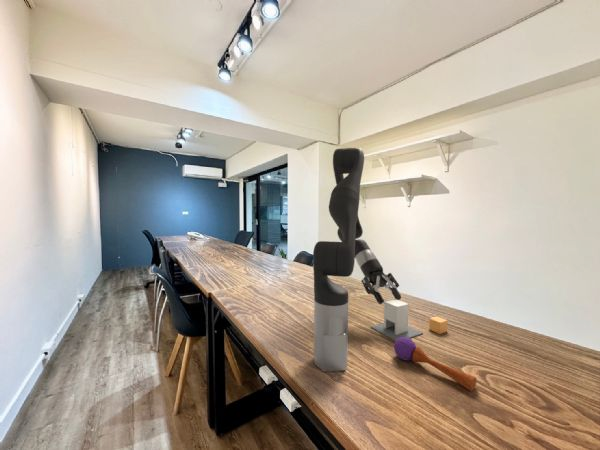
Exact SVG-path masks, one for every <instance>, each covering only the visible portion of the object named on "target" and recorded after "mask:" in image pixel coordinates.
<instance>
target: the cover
mask: <svg viewBox="0 0 600 450" xmlns="http://www.w3.org/2000/svg"><path fill="white" fill-rule="evenodd" d="M383 303H384V304H383V305H384V306H383V307H384V308H383V310H384V311H383V312H384V313H383V323H384V328H385V329H386V328H388V327H391V326H394V325H395V334H396V335H397V334H400V333H404V332H407V331H408V326H409V306H410V305H409V303H407V302H405V301H402V300H397V299H395V298H394V299H389V300H386V301H385V300H384V302H383Z"/></svg>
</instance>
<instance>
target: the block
mask: <svg viewBox="0 0 600 450" xmlns="http://www.w3.org/2000/svg"><path fill="white" fill-rule="evenodd" d="M428 323H429V326H428V327H429V330H430V331H433V332H434V333H437V334H439V335H440V334H441V335H442V334H443V333H446V332H448V320H447V319H445V318H443V317H439V316H433V317H430V318H429V322H428Z"/></svg>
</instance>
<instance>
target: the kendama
mask: <svg viewBox="0 0 600 450" xmlns="http://www.w3.org/2000/svg"><path fill="white" fill-rule="evenodd" d="M394 341H395V340H394ZM393 349H394V352H395V355H396V356H397V357H398V358H399V359H401V360H403V361H413V363H423V364H425V363H426V364H429V365H431V366H432V367H434V369H437V370H438V371H440V372H441V373H443V374H444V375H445V376H447V377H448V378H450V379H451V380H454V381H455V382H456V383H458V384H460V385H461V386H462V387H463V388H466V389H467V390H469V392H473V391H474V390H475V387H476V385H477V377H476V376H473V375H471V374H468V373H466V372H463V371H461V370H458V369H456V368H454V367H452V366H449V365H445V364H444V363H441V362H439V361H436V360H433V359H431V358H430V357H429V356H428V355H427V354H426V353H425V351H424V350H422V348H421V347H420V346H417V345H416V343H415V341H413V340H412V338H410V339H409V338H407V337H401V338H398V339H397V340H396V341H395V342H394V344H393ZM473 389H474V390H473ZM472 390H473V391H472Z"/></svg>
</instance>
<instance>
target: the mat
mask: <svg viewBox="0 0 600 450" xmlns="http://www.w3.org/2000/svg"><path fill="white" fill-rule="evenodd" d="M370 328H371V329H373V330H374V331H376V332H378V333H380V334H382V335H384V336H386V337H388V338H389V339H391V340H393V341H396V340H397V339H398V338H401V337H407V338H409V339H412V338H416V337H418V336H421V335H423V332H421V331H419V330H417V329H415V328H412V327H410V326H409V325H408V331H407V332H404V333H400V334H397V335H396V334H395V325H394V326H391V327H388V328H386V329H385V328H384V322H383V323H379V324H375V325H371V326H370Z"/></svg>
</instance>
